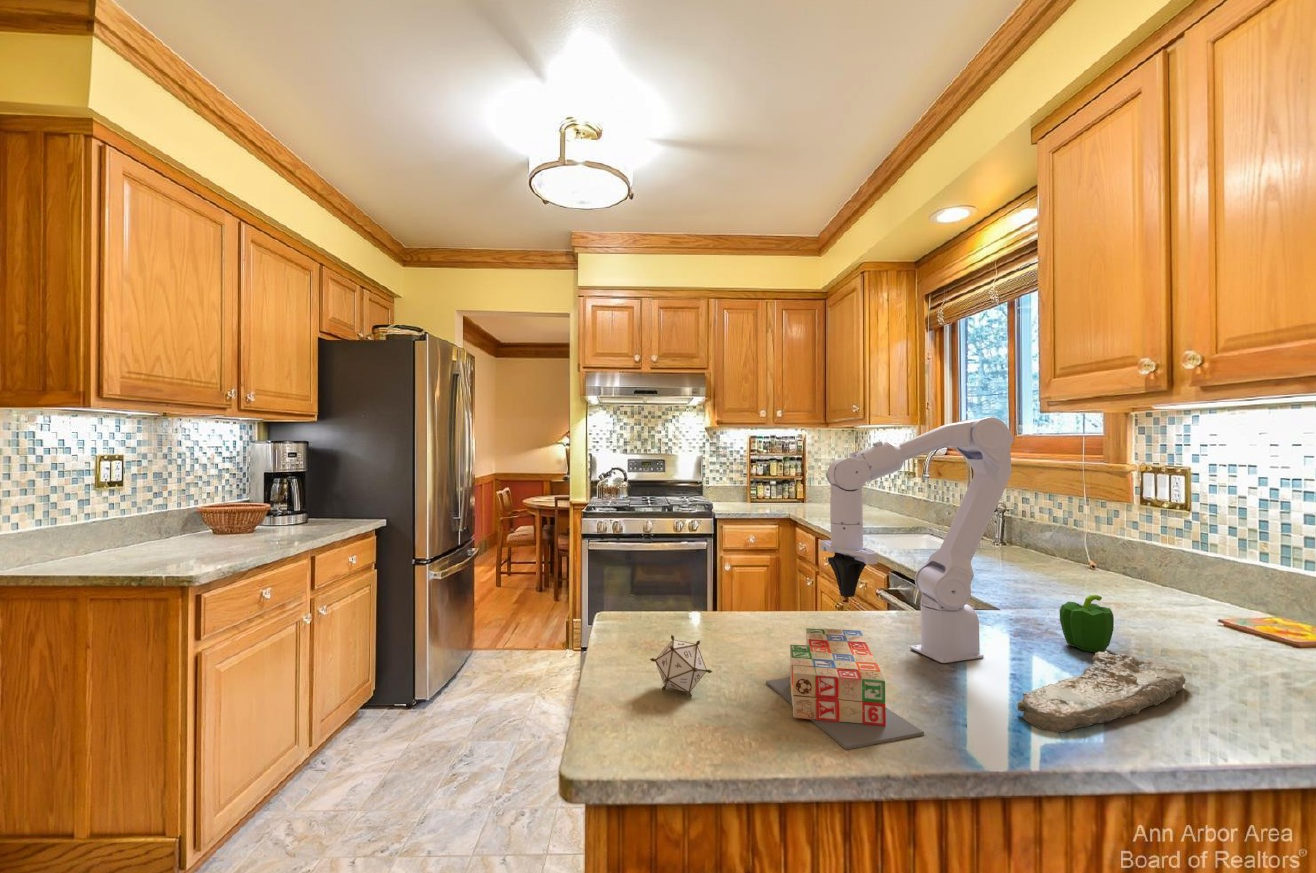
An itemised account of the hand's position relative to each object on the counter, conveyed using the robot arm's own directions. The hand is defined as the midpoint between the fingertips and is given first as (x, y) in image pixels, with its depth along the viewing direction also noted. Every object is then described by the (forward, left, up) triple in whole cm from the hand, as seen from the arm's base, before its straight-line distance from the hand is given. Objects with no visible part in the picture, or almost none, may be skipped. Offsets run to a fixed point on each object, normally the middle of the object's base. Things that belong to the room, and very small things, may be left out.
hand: (847, 596), depth 104 cm
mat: (+15, +18, -10) cm, 26 cm away
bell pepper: (-44, +12, -11) cm, 47 cm away
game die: (+35, +6, -11) cm, 37 cm away
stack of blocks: (+8, +17, -7) cm, 20 cm away
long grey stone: (-24, +29, -11) cm, 39 cm away
